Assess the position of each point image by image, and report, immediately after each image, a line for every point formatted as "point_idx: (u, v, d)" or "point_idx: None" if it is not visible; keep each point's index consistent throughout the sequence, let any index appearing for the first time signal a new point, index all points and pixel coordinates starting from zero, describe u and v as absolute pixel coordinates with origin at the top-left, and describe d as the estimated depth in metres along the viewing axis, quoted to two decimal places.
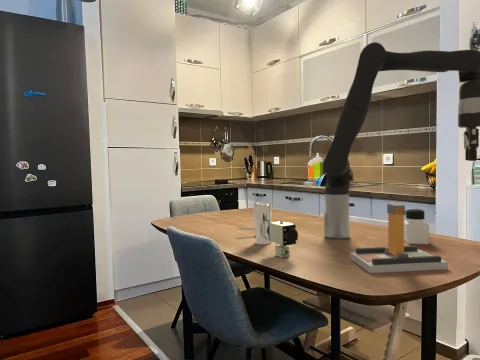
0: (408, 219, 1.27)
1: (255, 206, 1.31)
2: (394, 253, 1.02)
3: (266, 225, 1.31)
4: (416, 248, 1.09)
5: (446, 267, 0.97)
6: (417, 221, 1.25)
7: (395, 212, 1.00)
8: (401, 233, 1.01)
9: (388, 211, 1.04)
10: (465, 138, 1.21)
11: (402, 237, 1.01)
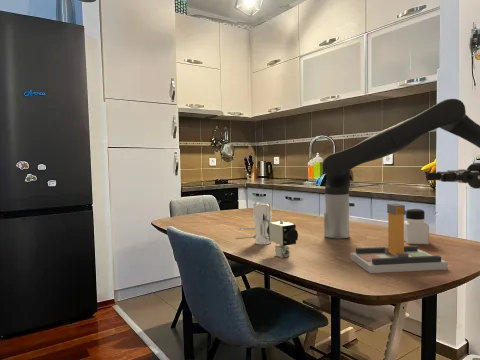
0: (408, 219, 1.27)
1: (255, 206, 1.31)
2: (394, 253, 1.02)
3: (266, 225, 1.31)
4: (416, 248, 1.09)
5: (446, 267, 0.97)
6: (417, 221, 1.25)
7: (395, 212, 1.00)
8: (401, 233, 1.01)
9: (388, 211, 1.04)
10: (458, 171, 1.04)
11: (402, 237, 1.01)
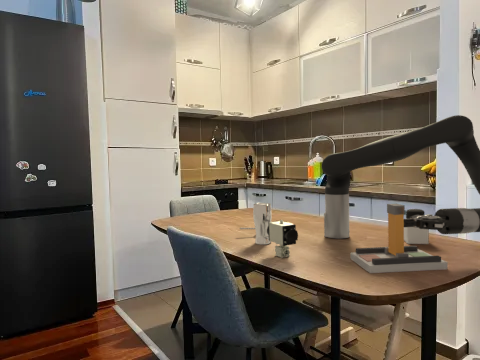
0: None
1: (255, 206, 1.31)
2: (394, 253, 1.02)
3: (266, 225, 1.31)
4: (416, 248, 1.09)
5: (446, 267, 0.97)
6: None
7: (395, 212, 1.00)
8: (401, 233, 1.01)
9: (388, 211, 1.04)
10: (428, 216, 1.04)
11: (402, 237, 1.01)
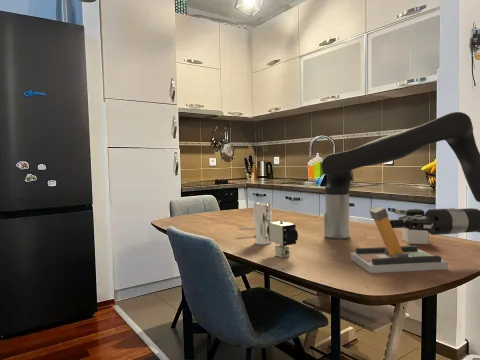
0: None
1: (255, 206, 1.31)
2: (394, 255, 1.02)
3: (266, 225, 1.31)
4: (416, 248, 1.09)
5: (446, 267, 0.97)
6: None
7: (379, 218, 1.00)
8: (392, 234, 1.00)
9: (372, 217, 1.04)
10: None
11: (395, 238, 1.00)
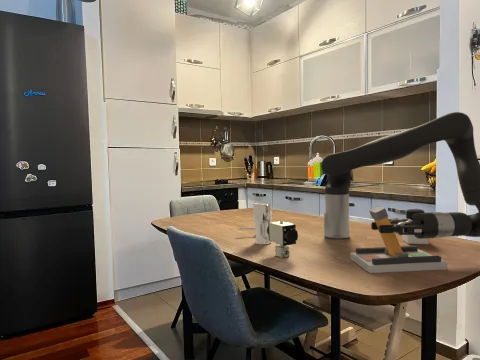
0: (408, 219, 1.27)
1: (255, 206, 1.31)
2: (394, 255, 1.02)
3: (266, 225, 1.31)
4: (416, 248, 1.09)
5: (446, 267, 0.97)
6: None
7: (379, 218, 1.00)
8: (392, 235, 1.00)
9: (372, 217, 1.04)
10: (402, 220, 1.04)
11: (395, 238, 1.00)
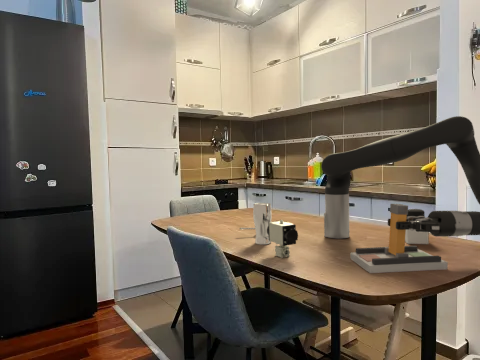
0: None
1: (255, 206, 1.31)
2: (394, 253, 1.02)
3: (266, 225, 1.31)
4: (416, 248, 1.09)
5: (446, 267, 0.97)
6: None
7: (398, 212, 1.00)
8: (403, 233, 1.01)
9: (391, 211, 1.04)
10: (419, 218, 1.04)
11: (403, 237, 1.01)
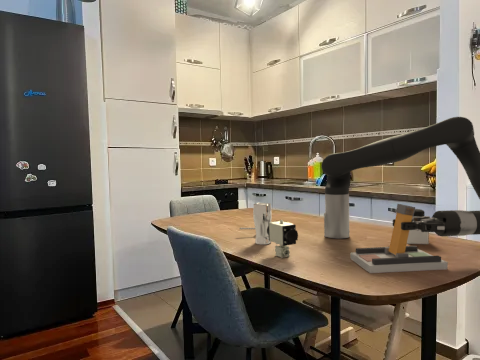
0: None
1: (255, 206, 1.31)
2: (394, 252, 1.02)
3: (266, 225, 1.31)
4: (416, 248, 1.09)
5: (446, 267, 0.97)
6: None
7: (404, 212, 1.00)
8: (406, 234, 1.01)
9: (397, 211, 1.04)
10: (423, 218, 1.04)
11: (406, 238, 1.01)
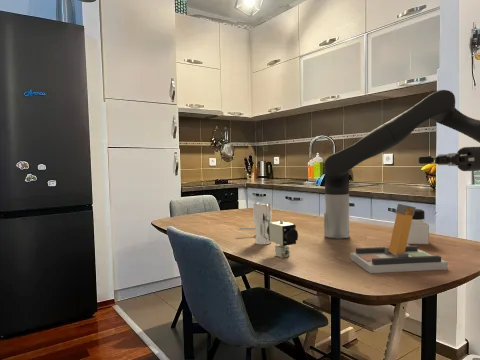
0: None
1: (255, 206, 1.31)
2: (394, 252, 1.02)
3: (266, 225, 1.31)
4: (416, 248, 1.09)
5: (446, 267, 0.97)
6: (417, 221, 1.25)
7: (405, 212, 1.00)
8: (406, 234, 1.01)
9: (397, 211, 1.04)
10: (447, 155, 1.10)
11: (406, 238, 1.01)
